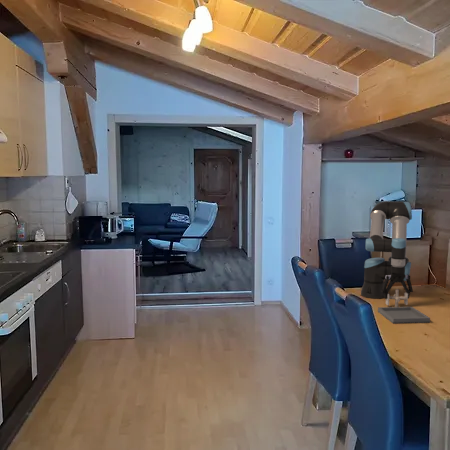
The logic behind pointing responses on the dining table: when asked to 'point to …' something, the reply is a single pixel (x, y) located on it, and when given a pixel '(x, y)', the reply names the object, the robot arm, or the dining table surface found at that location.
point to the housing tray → (403, 315)
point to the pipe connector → (397, 297)
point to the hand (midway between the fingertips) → (396, 304)
